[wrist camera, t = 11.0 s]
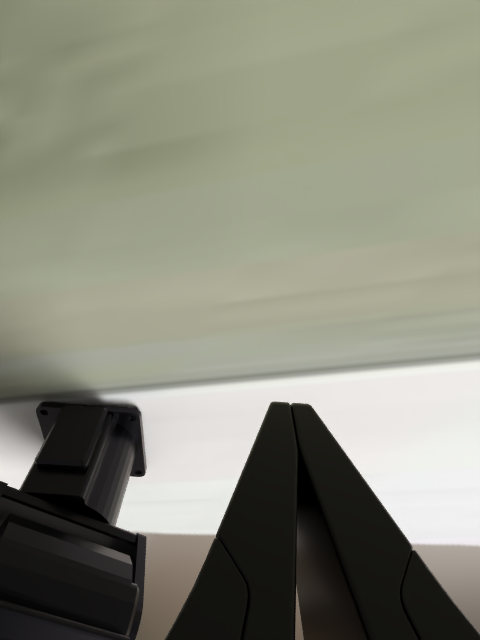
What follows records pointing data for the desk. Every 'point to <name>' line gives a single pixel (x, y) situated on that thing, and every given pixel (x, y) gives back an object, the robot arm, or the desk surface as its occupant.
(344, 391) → the desk surface
